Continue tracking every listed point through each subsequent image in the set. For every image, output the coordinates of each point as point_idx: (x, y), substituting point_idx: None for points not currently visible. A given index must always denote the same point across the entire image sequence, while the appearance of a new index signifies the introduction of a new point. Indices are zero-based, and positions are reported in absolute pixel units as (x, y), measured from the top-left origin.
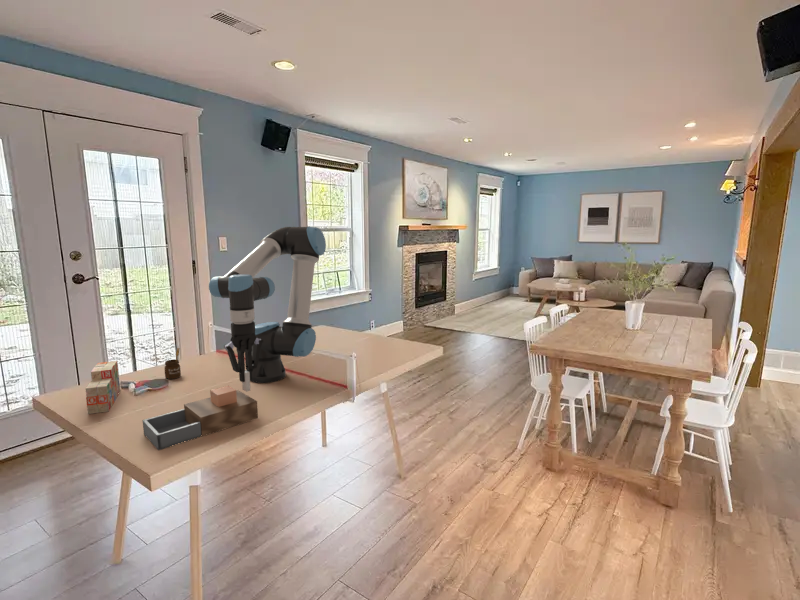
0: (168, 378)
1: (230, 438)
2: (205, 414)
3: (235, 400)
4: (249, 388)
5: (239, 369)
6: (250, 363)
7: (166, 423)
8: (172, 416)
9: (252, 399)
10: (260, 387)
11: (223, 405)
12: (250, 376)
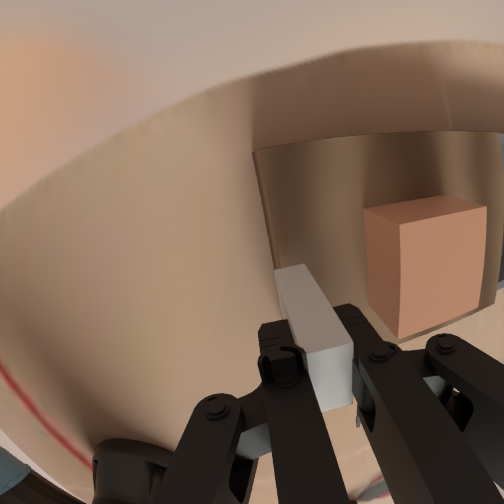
0: (354, 501)
1: (386, 52)
2: (487, 148)
3: (374, 208)
4: (282, 275)
5: (436, 357)
6: (298, 445)
7: (500, 263)
8: (501, 273)
9: (276, 193)
10: (172, 431)
11: (425, 198)
12: (275, 341)
